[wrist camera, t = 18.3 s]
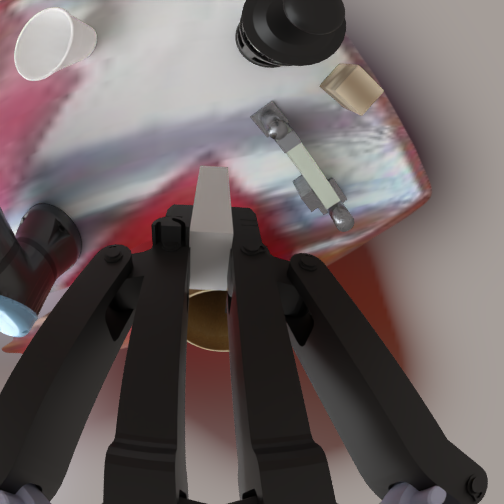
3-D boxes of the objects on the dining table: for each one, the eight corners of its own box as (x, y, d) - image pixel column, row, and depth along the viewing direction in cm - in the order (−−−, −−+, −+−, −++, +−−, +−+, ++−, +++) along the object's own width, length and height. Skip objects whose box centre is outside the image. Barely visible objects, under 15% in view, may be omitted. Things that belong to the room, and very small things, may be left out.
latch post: (288, 121, 38) (300, 133, 32) (266, 136, 40) (274, 152, 33) (271, 100, 36) (281, 108, 30) (250, 116, 38) (254, 127, 31)
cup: (117, 15, 25) (84, 4, 16) (100, 74, 31) (62, 82, 22) (64, 15, 23) (24, 11, 14) (50, 72, 28) (8, 81, 19)
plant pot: (257, 216, 48) (268, 281, 36) (267, 279, 57) (277, 345, 45) (173, 231, 49) (156, 298, 36) (196, 290, 58) (190, 356, 45)
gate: (329, 184, 45) (341, 200, 40) (316, 193, 45) (326, 210, 41) (285, 121, 38) (293, 130, 33) (270, 131, 39) (276, 142, 34)
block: (342, 107, 37) (361, 115, 32) (319, 86, 35) (335, 90, 30) (362, 85, 35) (384, 91, 29) (339, 63, 33) (358, 64, 27)
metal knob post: (345, 197, 47) (366, 225, 40) (319, 215, 49) (334, 246, 42) (321, 161, 43) (340, 183, 35) (292, 181, 45) (305, 207, 37)
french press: (261, 82, 35) (297, 100, 16) (217, 37, 30) (202, 0, 12) (324, 39, 30) (418, 27, 12) (283, -7, 26) (340, -70, 8)
